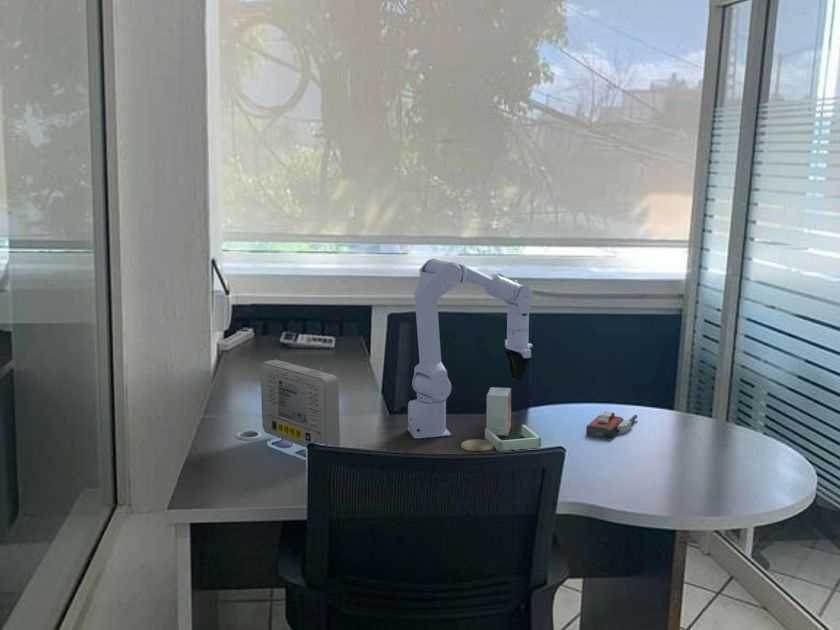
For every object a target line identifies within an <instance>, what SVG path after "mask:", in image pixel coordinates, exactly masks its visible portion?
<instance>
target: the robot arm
mask: <svg viewBox="0 0 840 630" xmlns="http://www.w3.org/2000/svg"><path fill="white" fill-rule="evenodd" d="M465 282H468V283H470V284H473V285H476V286H479V287H482V288H483V289H484V292H485V294H487V296H488V295H489V296H490V297H493V298H496V299H498V300H501V301H503V303H505V304H506V305H507V307H506V309H507V310H506V312H507V313H506V320H507V322H506V339H504V347H505V348H506V349H507V350H504V352H503V354H504V356H505V358H506V360H507V361H506V362H507V363H508V367H509V372H510V376H511V378H514V380H515V381H524V378H525V374H526V371H527V366H528V364H529V362H530V360H531V359H532V350H531V349H530V348H533V344H532V343H531V342H530V343H529V338H530V337H529V334H530V333H529V329H530V327H529V326H530V325H529V324H530V321H529V320H530V311H531V305H532V303H533V301H534V299H535V295H534V294H533V290H532V289H531V288H530V286H528V285H525V284H519V283H518V280H516V279H512V280H511V279H509V278H507V277H505V274H503V273H499V272H498V273H493V274H490V275H487V274H486V273H483V272H481V271H479V270H477V269H474V268H473V267H470V266H468V265H465V264H461V263H457V262H455V261H444V260H439V259H437V258H430V259H428V260H426V262H425V263H424V264H423V265H422V266H421V267H420V268H419V278H418V282H417V285H416V288H415V291H414V304H415V318H416V330H417V344H418V357H419V358H418V360H419V363H418V364H416V365H415V366H414V368H413V369H414V370H413V371H414V374H413V378H412V382H411V384H412V385H411V386H412V388H413V390H414V392H415V393H416V399H414V400H409V402H408V404H407V431H408V432H409V433H410V435H411V436H412V437H413V438H414V439H417V438H418V439H427V438H428V437H429V438H438V437H450V436H452V433H451V432H450V431H449V430H448V429H447V404H446V403H447V399H448V397H450V394H451V392H452V383H451V381H450V379H449V377H448V370H447V369H446V368H445V365H444V364H443V362H442V354H441V353H442V351H441V340H440V339H441V337H440V324H439V310H438V301H439V300H440V298H441V297H443V295H444V294H447V293H448V292H450V291H451V290H453V289H454V288H456V287H457V286H458V285H459V284H460V283H461V284H462V283H465Z"/></svg>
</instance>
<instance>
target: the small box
mask: <svg viewBox="0 0 840 630" xmlns="http://www.w3.org/2000/svg"><path fill="white" fill-rule="evenodd" d="M511 417H512V388H511V387H497V386H496V387H495V386H494V387H491V386H490V388H489V389H488V392H487V394H486V428H488V429H489V430H491V431H492V432H493V433H494V434H495V435H496V436H508V435H509V433H510V430H511V426H512V423H511V422H512V421H511V420H512V418H511Z"/></svg>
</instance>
